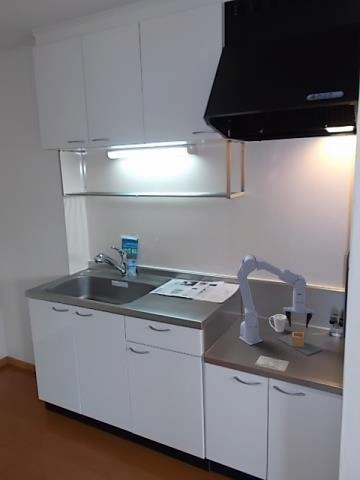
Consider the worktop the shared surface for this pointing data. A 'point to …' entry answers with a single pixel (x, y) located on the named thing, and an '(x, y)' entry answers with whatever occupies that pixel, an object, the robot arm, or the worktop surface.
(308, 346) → the plate
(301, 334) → the wooden cube with hole
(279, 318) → the cup
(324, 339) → the worktop surface
